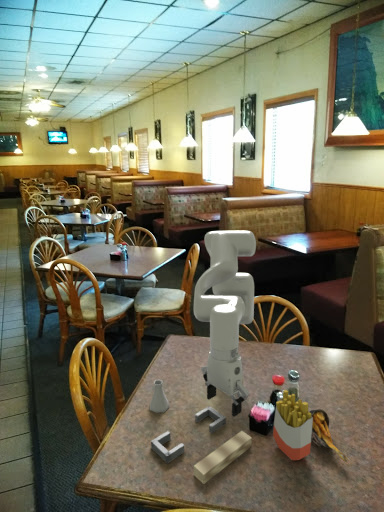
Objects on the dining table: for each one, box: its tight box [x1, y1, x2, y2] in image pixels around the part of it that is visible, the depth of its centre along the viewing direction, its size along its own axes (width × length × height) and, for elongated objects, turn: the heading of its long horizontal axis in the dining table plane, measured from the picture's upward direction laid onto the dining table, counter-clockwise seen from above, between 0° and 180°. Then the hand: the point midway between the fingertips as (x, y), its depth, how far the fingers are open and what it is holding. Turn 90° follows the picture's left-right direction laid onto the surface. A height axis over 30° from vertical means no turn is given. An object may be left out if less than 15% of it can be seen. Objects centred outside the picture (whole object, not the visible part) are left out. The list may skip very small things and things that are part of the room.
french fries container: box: [272, 389, 313, 461], centre depth 108 cm, size 5×11×18 cm, turn 30°
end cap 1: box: [150, 430, 185, 464], centre depth 111 cm, size 6×8×2 cm
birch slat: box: [193, 430, 253, 485], centre depth 107 cm, size 20×4×4 cm, turn 131°
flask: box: [149, 379, 170, 414], centre depth 130 cm, size 7×7×10 cm
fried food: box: [308, 408, 349, 463], centre depth 112 cm, size 9×11×18 cm
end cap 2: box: [194, 405, 227, 434], centre depth 123 cm, size 6×8×2 cm
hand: (223, 405), depth 103 cm, fingers open, 9 cm apart
